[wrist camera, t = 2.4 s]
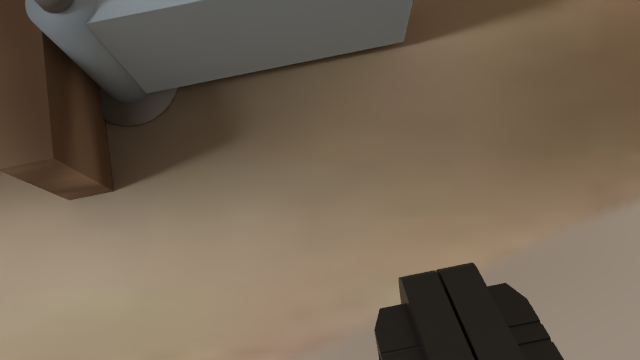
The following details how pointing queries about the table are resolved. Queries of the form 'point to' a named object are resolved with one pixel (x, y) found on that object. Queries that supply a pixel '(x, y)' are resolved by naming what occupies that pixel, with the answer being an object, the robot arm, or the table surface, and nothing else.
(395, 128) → the table surface
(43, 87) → the frame rail
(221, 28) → the grey pivot lever
